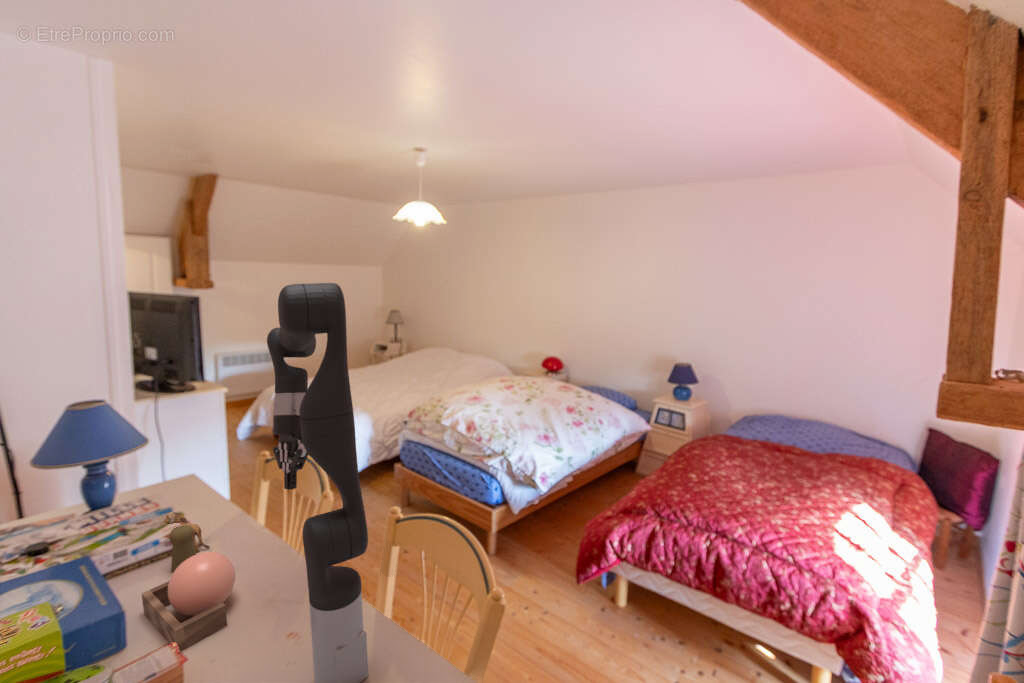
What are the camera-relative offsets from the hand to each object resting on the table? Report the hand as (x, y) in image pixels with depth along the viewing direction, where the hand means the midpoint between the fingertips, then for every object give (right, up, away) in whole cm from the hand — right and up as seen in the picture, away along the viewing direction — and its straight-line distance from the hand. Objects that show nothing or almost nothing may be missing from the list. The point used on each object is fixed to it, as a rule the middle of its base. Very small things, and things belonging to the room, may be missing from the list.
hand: (290, 488), depth 111 cm
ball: (-20, -21, -1) cm, 29 cm away
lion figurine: (-41, -24, +25) cm, 53 cm away
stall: (-22, -28, -3) cm, 36 cm away
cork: (-35, -25, +15) cm, 45 cm away
